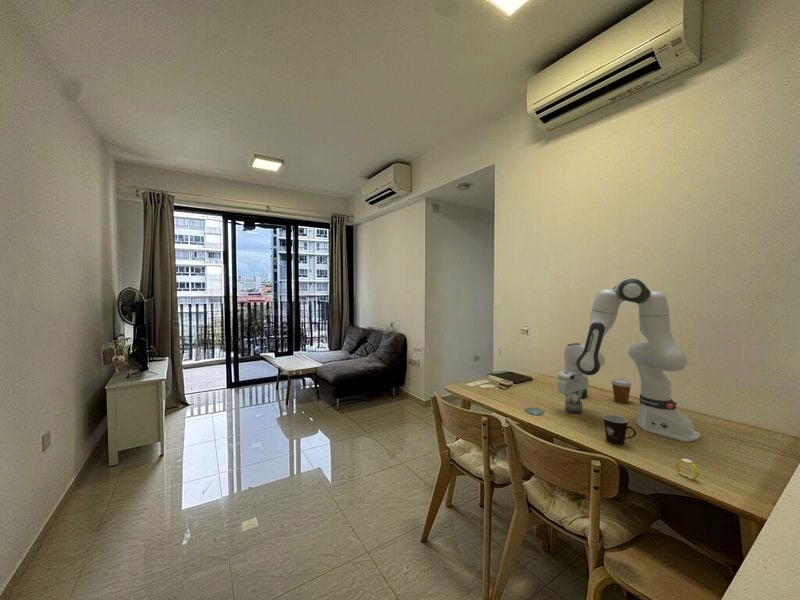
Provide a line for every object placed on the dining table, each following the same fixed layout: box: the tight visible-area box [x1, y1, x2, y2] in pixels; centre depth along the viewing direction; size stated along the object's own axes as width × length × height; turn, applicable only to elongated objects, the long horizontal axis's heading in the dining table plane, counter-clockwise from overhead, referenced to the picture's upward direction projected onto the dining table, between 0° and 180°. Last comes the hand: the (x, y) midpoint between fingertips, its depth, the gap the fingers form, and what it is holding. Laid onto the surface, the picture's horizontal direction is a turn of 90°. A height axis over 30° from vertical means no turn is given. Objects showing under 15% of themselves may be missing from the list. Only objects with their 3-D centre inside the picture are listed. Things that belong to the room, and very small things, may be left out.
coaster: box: [524, 406, 546, 416], centre depth 170 cm, size 10×10×1 cm
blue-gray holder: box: [564, 398, 583, 415], centre depth 169 cm, size 8×8×6 cm
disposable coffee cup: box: [611, 378, 632, 405], centre depth 181 cm, size 10×10×12 cm
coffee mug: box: [602, 414, 637, 446], centre depth 134 cm, size 12×9×10 cm
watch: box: [675, 458, 700, 480], centre depth 110 cm, size 6×3×6 cm, turn 24°
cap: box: [569, 392, 579, 404], centre depth 169 cm, size 5×4×5 cm
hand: (573, 399), depth 169 cm, fingers open, 7 cm apart
